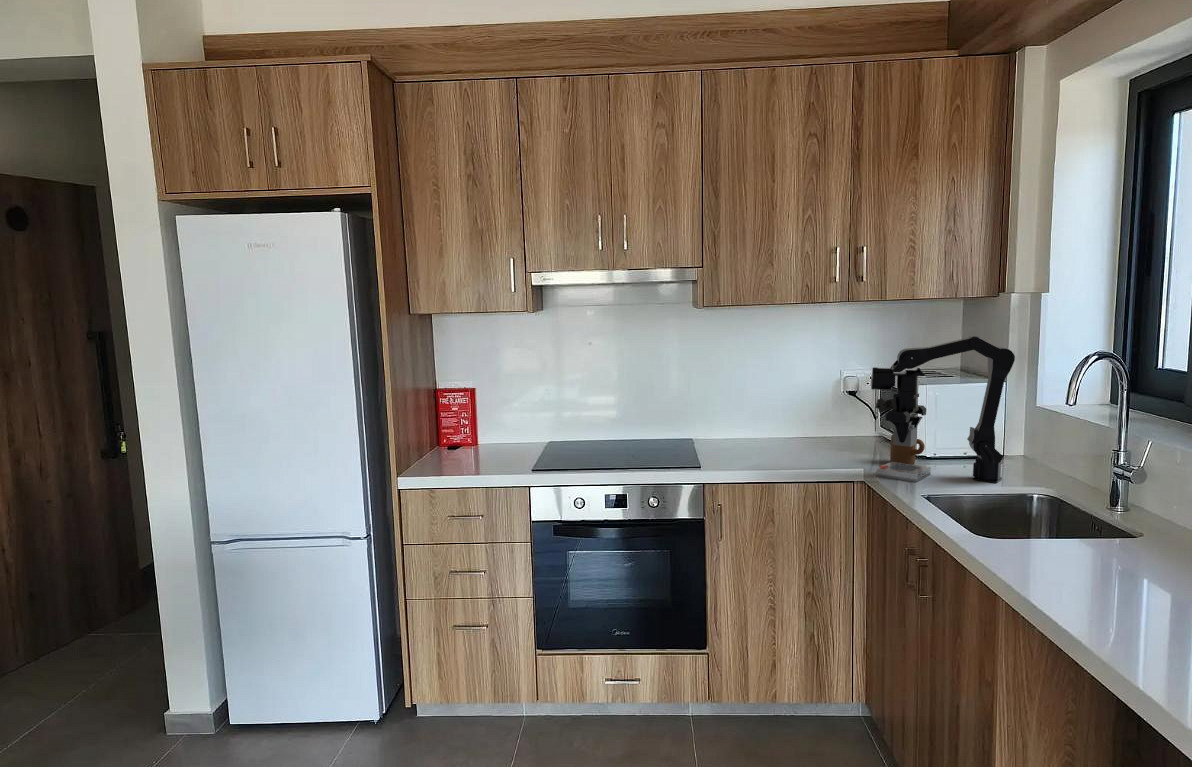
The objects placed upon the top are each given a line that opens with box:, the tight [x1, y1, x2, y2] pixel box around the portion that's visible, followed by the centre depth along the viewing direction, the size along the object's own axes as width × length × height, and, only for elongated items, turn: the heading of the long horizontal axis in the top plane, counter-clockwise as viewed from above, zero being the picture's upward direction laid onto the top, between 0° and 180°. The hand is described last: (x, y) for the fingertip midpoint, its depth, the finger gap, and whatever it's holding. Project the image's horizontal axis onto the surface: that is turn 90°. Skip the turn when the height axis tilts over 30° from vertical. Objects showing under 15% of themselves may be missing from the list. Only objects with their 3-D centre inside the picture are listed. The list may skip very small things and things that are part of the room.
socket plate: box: [876, 462, 932, 483], centre depth 228 cm, size 12×12×3 cm
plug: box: [892, 425, 918, 447], centre depth 226 cm, size 5×5×6 cm
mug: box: [889, 433, 926, 465], centre depth 241 cm, size 12×8×9 cm, turn 26°
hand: (905, 441), depth 227 cm, fingers closed on plug, 5 cm apart
